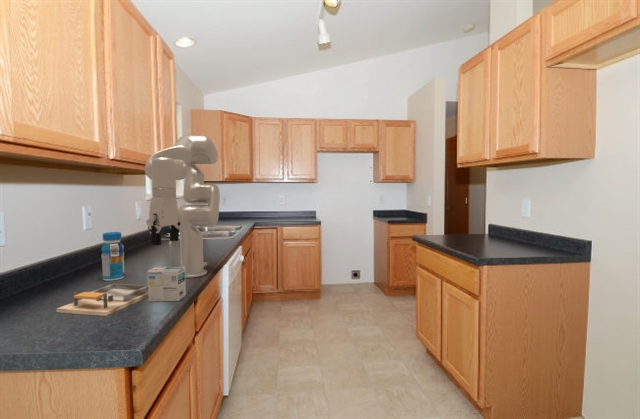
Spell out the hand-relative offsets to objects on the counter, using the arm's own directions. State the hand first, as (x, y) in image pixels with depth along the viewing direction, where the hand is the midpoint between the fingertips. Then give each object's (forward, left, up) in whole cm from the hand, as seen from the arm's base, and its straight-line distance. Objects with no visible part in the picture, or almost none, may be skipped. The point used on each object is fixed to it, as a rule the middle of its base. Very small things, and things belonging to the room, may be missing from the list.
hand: (165, 242), depth 115 cm
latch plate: (+14, -17, -16) cm, 27 cm away
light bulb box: (0, 0, -20) cm, 20 cm away
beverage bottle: (-20, -40, -20) cm, 49 cm away
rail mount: (+6, -17, -20) cm, 27 cm away
